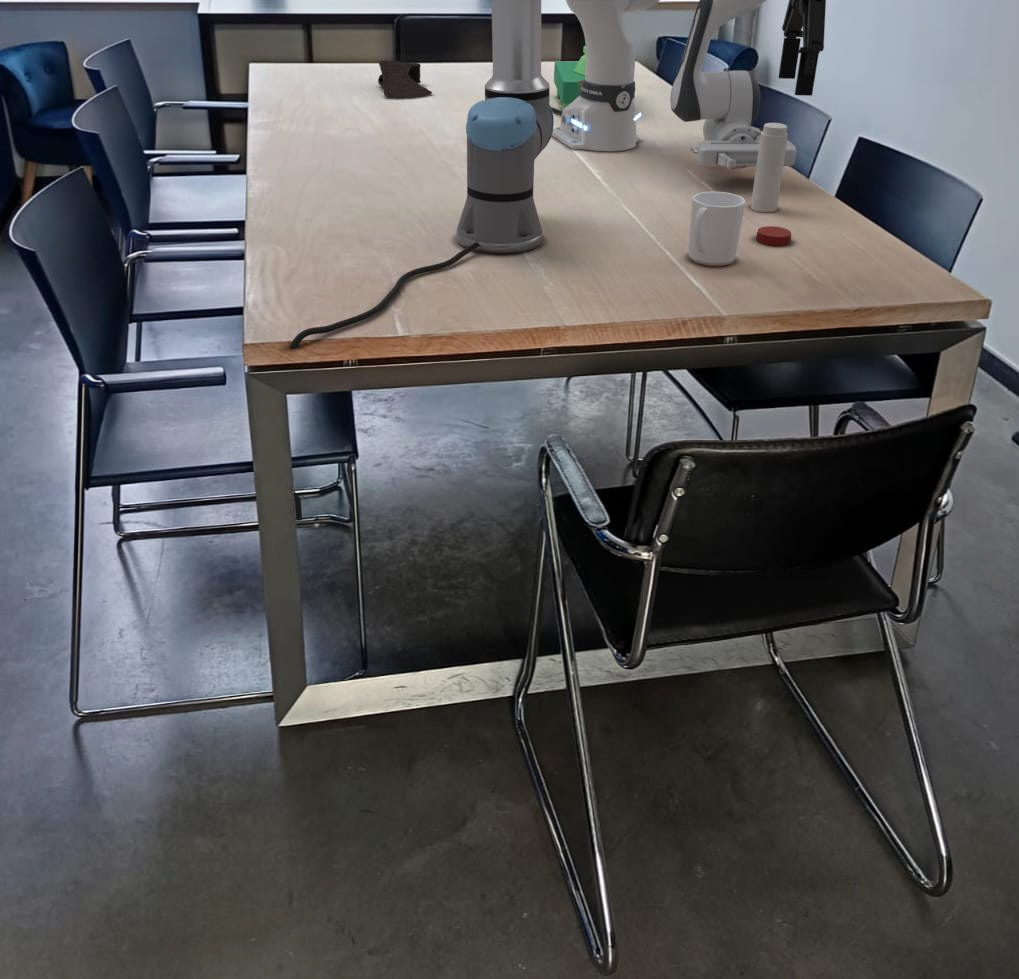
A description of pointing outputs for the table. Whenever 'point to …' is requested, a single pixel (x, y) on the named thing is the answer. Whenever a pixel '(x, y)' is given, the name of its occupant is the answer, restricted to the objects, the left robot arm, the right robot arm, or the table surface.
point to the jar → (769, 167)
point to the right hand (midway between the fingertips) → (755, 164)
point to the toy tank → (569, 79)
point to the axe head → (401, 79)
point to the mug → (715, 227)
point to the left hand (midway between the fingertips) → (794, 86)
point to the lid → (773, 236)
